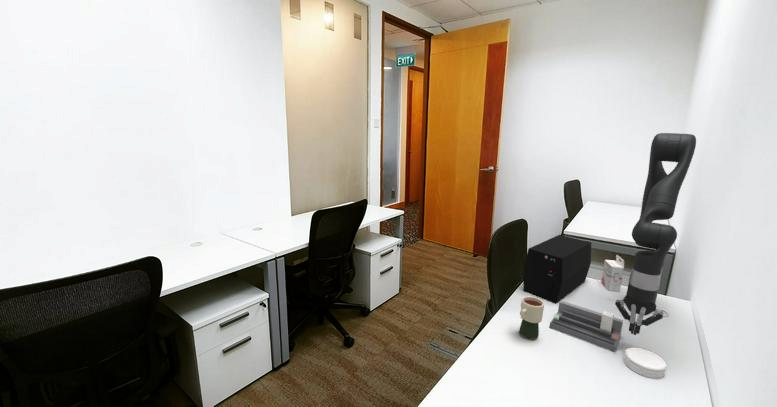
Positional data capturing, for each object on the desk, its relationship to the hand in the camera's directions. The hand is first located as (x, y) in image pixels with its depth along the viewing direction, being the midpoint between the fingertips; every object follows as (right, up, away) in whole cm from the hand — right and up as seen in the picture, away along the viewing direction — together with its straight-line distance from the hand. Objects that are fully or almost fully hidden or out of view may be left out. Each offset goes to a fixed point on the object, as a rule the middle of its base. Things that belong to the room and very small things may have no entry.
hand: (633, 333), depth 109 cm
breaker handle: (-6, -2, +5) cm, 8 cm away
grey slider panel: (-10, -3, +10) cm, 15 cm away
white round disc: (-2, -8, -7) cm, 11 cm away
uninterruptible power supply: (-4, +4, +44) cm, 44 cm away
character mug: (-31, -4, +7) cm, 32 cm away
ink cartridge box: (+22, +4, +45) cm, 50 cm away
